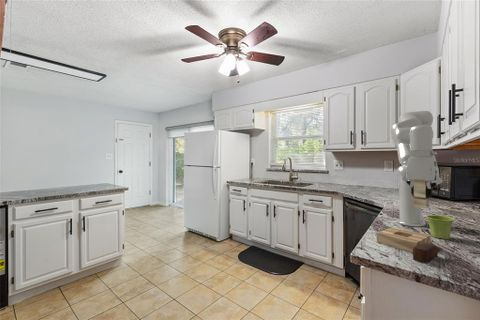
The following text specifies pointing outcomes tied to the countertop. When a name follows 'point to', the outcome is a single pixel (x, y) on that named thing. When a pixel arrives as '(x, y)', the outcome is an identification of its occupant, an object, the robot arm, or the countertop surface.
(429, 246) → the brick
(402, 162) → the robot arm
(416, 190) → the peg
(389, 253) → the countertop surface
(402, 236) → the seat board
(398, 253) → the countertop surface
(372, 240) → the countertop surface
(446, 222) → the plant pot
